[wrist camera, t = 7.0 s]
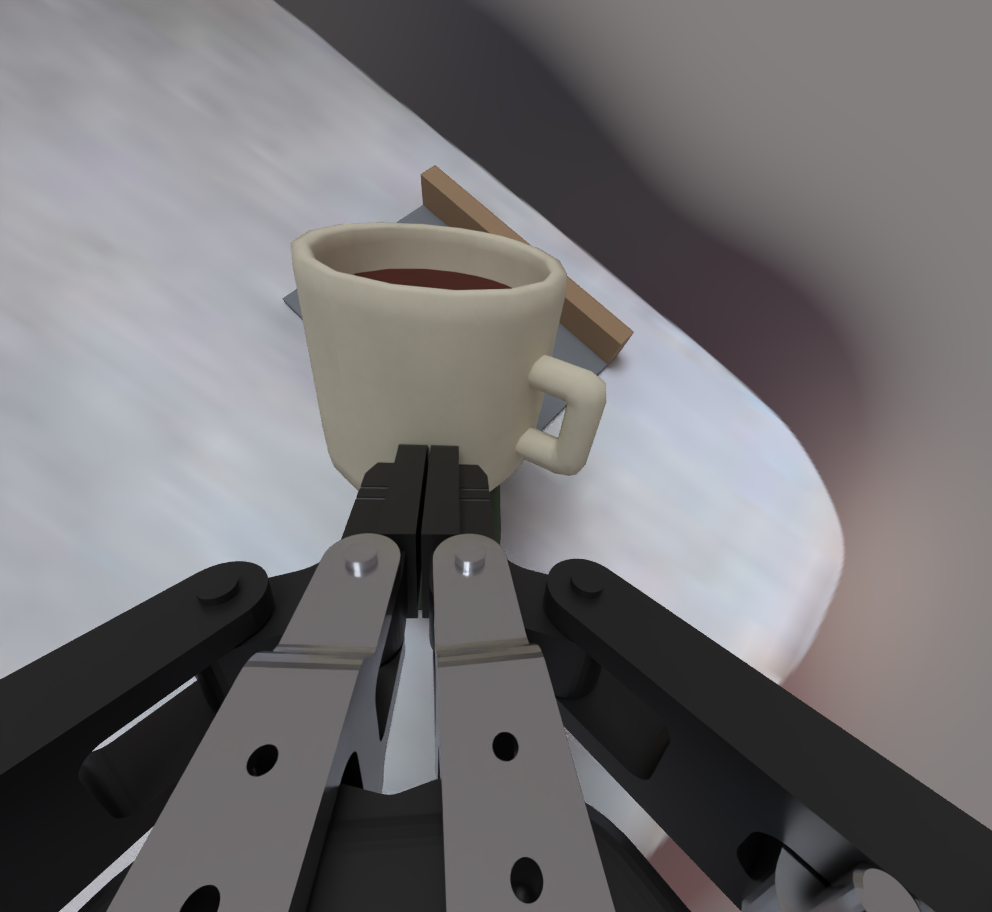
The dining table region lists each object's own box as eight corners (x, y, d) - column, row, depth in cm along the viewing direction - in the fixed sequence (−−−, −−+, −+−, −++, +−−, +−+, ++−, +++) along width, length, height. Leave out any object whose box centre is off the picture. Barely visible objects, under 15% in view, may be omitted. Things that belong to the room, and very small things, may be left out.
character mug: (567, 562, 19) (673, 277, 11) (487, 698, 14) (573, 362, 6) (393, 467, 23) (379, 202, 15) (283, 549, 18) (171, 218, 10)
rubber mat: (478, 491, 22) (481, 481, 19) (284, 301, 24) (266, 272, 22) (617, 355, 25) (634, 332, 23) (436, 200, 27) (435, 165, 25)
